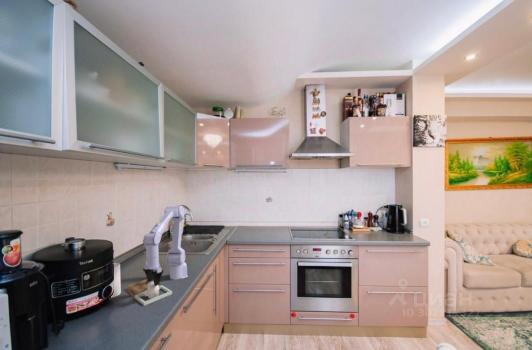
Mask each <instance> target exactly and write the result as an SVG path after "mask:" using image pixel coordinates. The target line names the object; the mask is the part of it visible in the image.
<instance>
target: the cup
mask: <svg viewBox="0 0 532 350" xmlns="http://www.w3.org/2000/svg"><path fill="white" fill-rule="evenodd" d="M112 263H113V264H114V293H113V295H112V296H111V298H110V299H112V298H116V297H118V296H119V295H120V294H121V293H122V288H121V287H122V284H121V263H119V262H112Z"/></svg>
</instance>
